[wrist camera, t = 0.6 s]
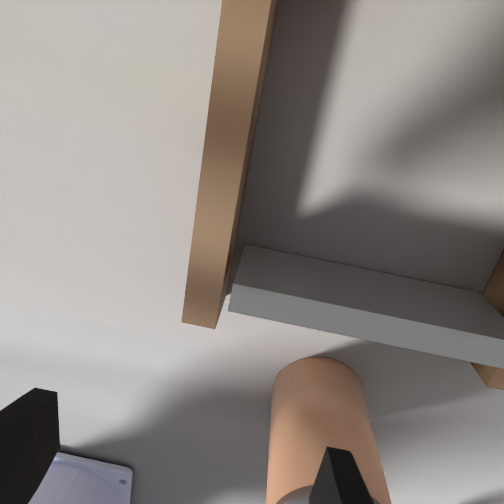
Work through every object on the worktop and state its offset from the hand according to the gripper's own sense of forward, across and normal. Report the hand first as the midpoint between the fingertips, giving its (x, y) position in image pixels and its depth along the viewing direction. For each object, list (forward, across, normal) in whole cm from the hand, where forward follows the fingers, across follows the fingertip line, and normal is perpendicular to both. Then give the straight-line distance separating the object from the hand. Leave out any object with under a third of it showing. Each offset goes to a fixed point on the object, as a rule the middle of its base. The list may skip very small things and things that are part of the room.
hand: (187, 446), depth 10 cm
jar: (+10, -6, +6) cm, 13 cm away
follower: (+9, -6, -2) cm, 11 cm away
